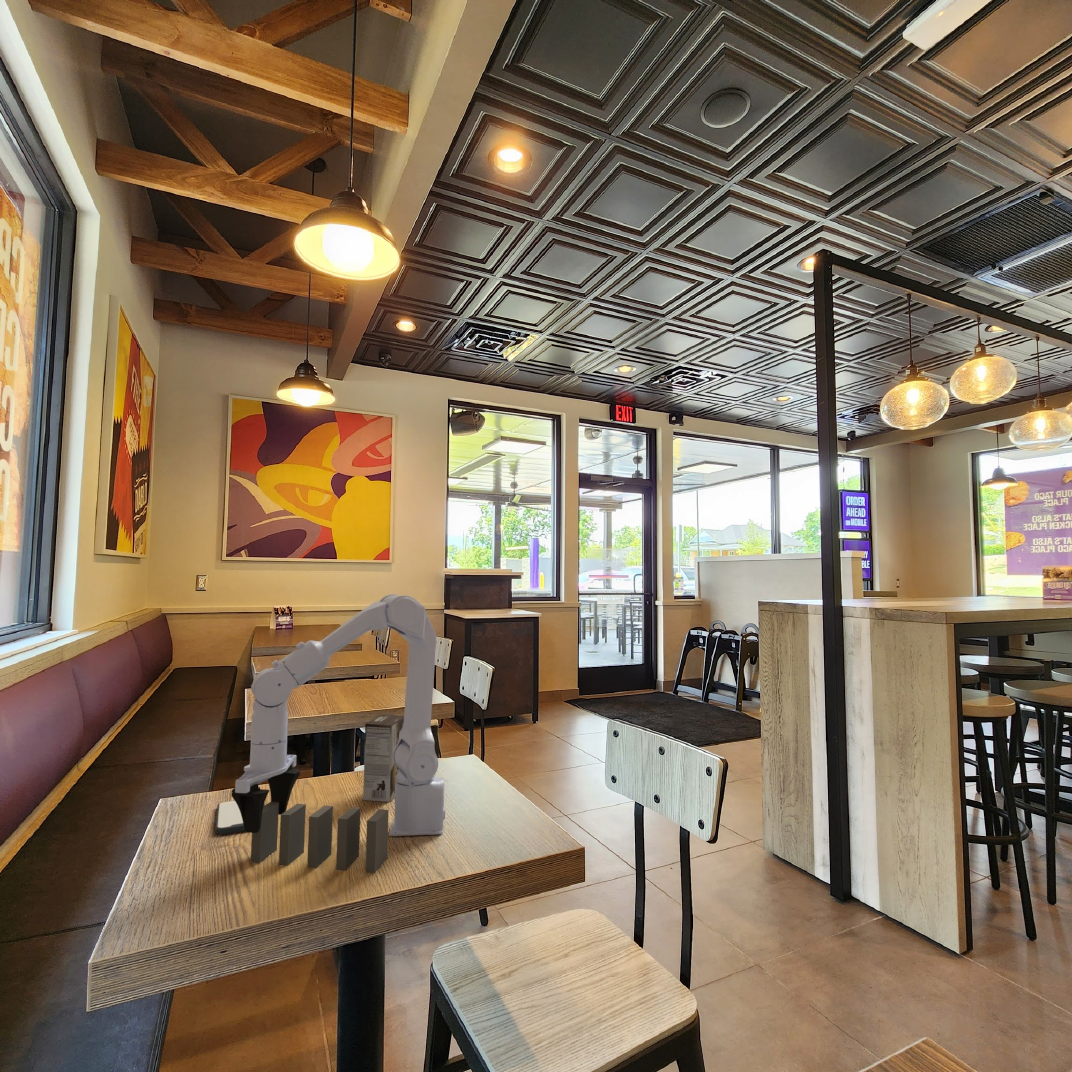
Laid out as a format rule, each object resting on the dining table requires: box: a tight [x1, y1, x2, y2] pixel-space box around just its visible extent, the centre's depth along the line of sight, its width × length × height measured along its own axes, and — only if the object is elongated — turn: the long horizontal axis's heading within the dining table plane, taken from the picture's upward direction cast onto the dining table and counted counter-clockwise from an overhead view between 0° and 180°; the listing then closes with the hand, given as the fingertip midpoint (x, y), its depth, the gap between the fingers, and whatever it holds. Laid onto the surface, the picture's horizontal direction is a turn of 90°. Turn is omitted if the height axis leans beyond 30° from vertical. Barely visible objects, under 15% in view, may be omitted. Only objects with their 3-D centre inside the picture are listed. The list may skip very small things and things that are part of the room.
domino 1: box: [278, 803, 307, 867], centre depth 100 cm, size 2×5×8 cm, turn 171°
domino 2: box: [306, 805, 334, 869], centre depth 99 cm, size 2×5×8 cm, turn 171°
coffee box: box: [362, 714, 404, 803], centre depth 131 cm, size 9×6×16 cm
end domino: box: [250, 801, 280, 864], centre depth 101 cm, size 2×5×8 cm, turn 171°
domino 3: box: [335, 806, 361, 872], centre depth 99 cm, size 2×5×8 cm, turn 171°
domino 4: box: [364, 808, 389, 874], centre depth 98 cm, size 2×5×8 cm, turn 171°
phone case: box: [214, 800, 266, 837], centre depth 117 cm, size 9×2×16 cm
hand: (265, 822), depth 101 cm, fingers open, 7 cm apart
